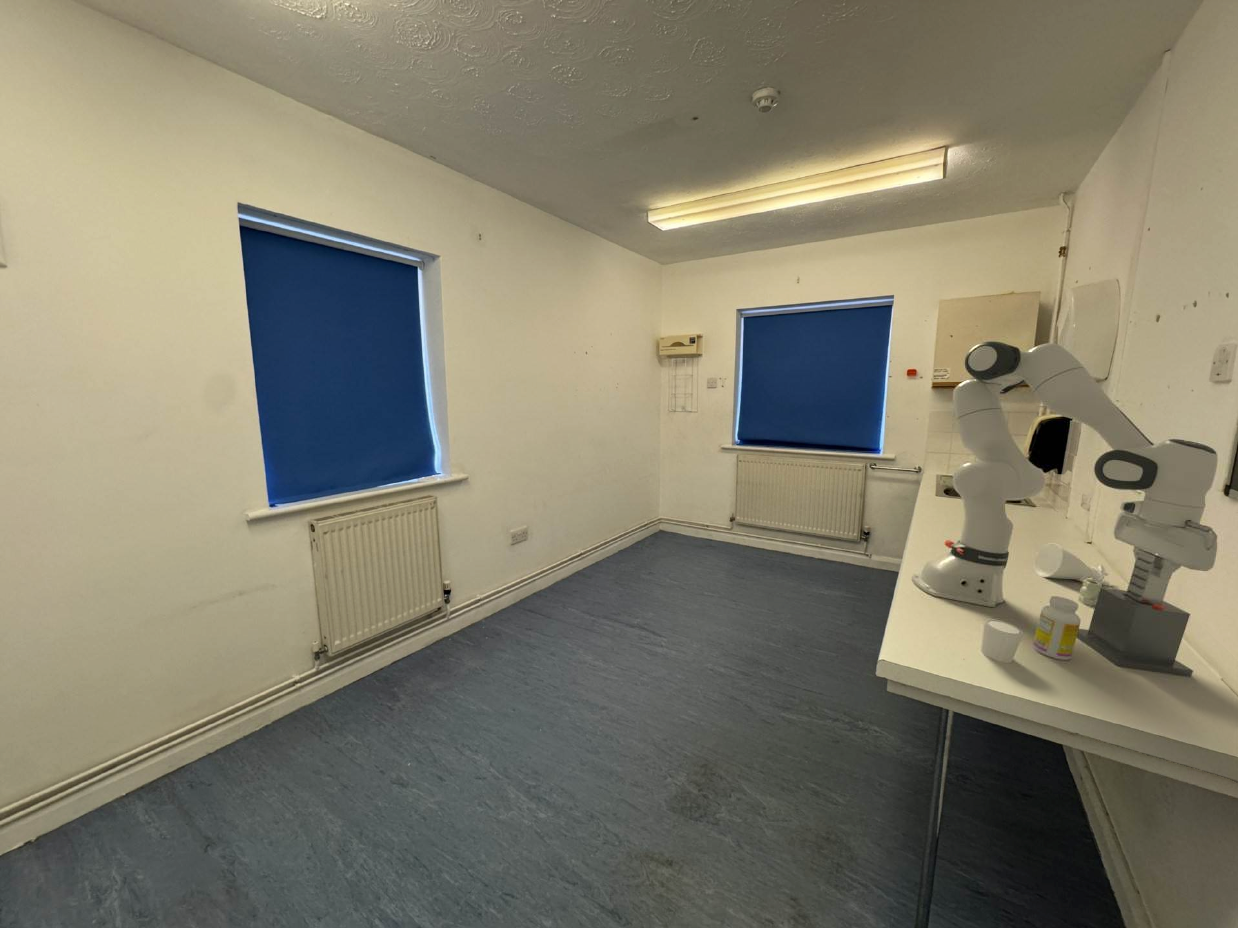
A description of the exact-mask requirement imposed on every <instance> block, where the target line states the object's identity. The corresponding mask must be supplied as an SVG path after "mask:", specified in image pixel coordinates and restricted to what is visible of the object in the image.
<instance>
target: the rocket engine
mask: <svg viewBox="0 0 1238 928" xmlns="http://www.w3.org/2000/svg"><path fill="white" fill-rule="evenodd" d="M1033 562H1034V563H1033V567H1034V571H1035V572H1036V574H1037V575H1039V577H1042V578H1049V579H1060V580H1062V579H1063V580H1074V581H1077V582H1081V583H1083V581H1084V580H1092V581H1096V582H1099V583H1100V584H1102V586H1105V587H1109V586H1110V583H1111V582H1109V581H1106V580H1104V579H1105V577H1108V576H1109V572H1108V571H1106V568H1105V566H1104V565H1103V564H1099V565H1097V567H1096V566H1089V565H1088V563H1087V562H1085V561H1084V560H1082V559H1081V558H1079V557H1078V556H1077V555H1075V554H1074V553H1073V552H1071V551H1070V550H1068V549H1066V548H1065V547H1063V546H1061V545H1059V544H1057V543H1054V542H1049V543H1046V544H1045V545H1043V546H1042V547H1041V548H1040V549H1039V550H1038V551H1037V553H1036V555H1035V558H1034V561H1033Z"/></svg>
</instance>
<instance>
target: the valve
mask: <svg viewBox="0 0 1238 928" xmlns="http://www.w3.org/2000/svg"><path fill="white" fill-rule="evenodd" d="M1102 586H1103V584H1100V583H1099V582H1096V581H1092V580H1084V581H1083V582H1082V586H1081V587H1080V590H1079V594H1080V595H1079V597H1078V599H1077V601H1078V603H1079V602H1080V603H1081V604H1084V605H1086V606H1090V607H1095V606H1096V602H1097V599H1098V595H1099V592H1100V588H1103V587H1102Z"/></svg>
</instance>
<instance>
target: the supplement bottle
mask: <svg viewBox="0 0 1238 928" xmlns="http://www.w3.org/2000/svg"><path fill="white" fill-rule="evenodd" d="M1078 609H1079V604H1078V603H1077V602H1076V601H1074V600H1071V599H1069V598H1066V597H1062V596H1055V595H1054V596H1053V595H1051V596H1050V599H1049V605H1046V606H1043V607H1042V608H1041V611H1040V614H1039V619H1038V623H1037V626H1036V631H1035V634H1034V639H1033V643H1032V646H1033V649H1035V650H1036V651H1037V652H1039V653H1040V654H1042V655H1044V656H1047V657H1049V658H1052V659H1055V660H1060V661H1066V660H1067V661H1068V660H1070V659H1071V657H1072V655H1073V651H1074V647H1075V644H1076V640H1077V633H1078V629H1080V625H1081V617H1080V616H1079V615H1078V614H1077V613H1076V612H1077V611H1078Z"/></svg>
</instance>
